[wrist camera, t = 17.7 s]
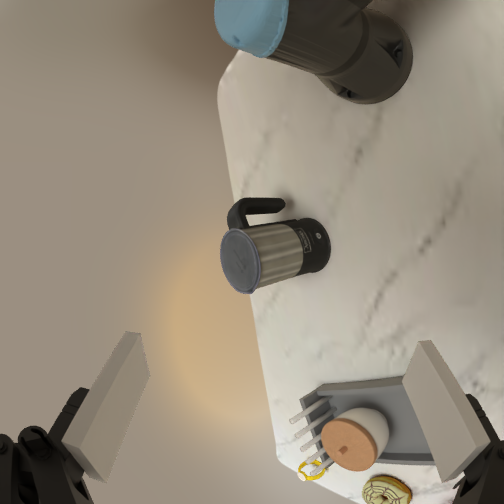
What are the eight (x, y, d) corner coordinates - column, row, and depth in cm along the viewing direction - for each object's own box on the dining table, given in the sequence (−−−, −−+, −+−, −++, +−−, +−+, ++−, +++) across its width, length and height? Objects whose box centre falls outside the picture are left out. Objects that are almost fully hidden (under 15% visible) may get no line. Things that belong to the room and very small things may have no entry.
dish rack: (323, 384, 52) (280, 410, 45) (439, 369, 33) (406, 413, 27) (345, 449, 49) (307, 479, 42) (454, 453, 30) (423, 501, 23)
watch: (311, 461, 58) (292, 473, 55) (311, 454, 58) (292, 466, 54) (329, 472, 53) (309, 486, 50) (329, 465, 53) (309, 479, 49)
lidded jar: (390, 454, 39) (358, 487, 33) (344, 429, 47) (310, 456, 42) (407, 412, 37) (375, 447, 31) (353, 387, 45) (317, 415, 39)
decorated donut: (405, 510, 36) (395, 523, 34) (366, 492, 45) (355, 503, 42) (419, 485, 35) (409, 498, 32) (374, 466, 43) (363, 477, 41)
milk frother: (341, 249, 45) (268, 267, 36) (293, 303, 56) (226, 327, 47) (291, 187, 51) (217, 189, 43) (256, 246, 62) (190, 258, 53)
